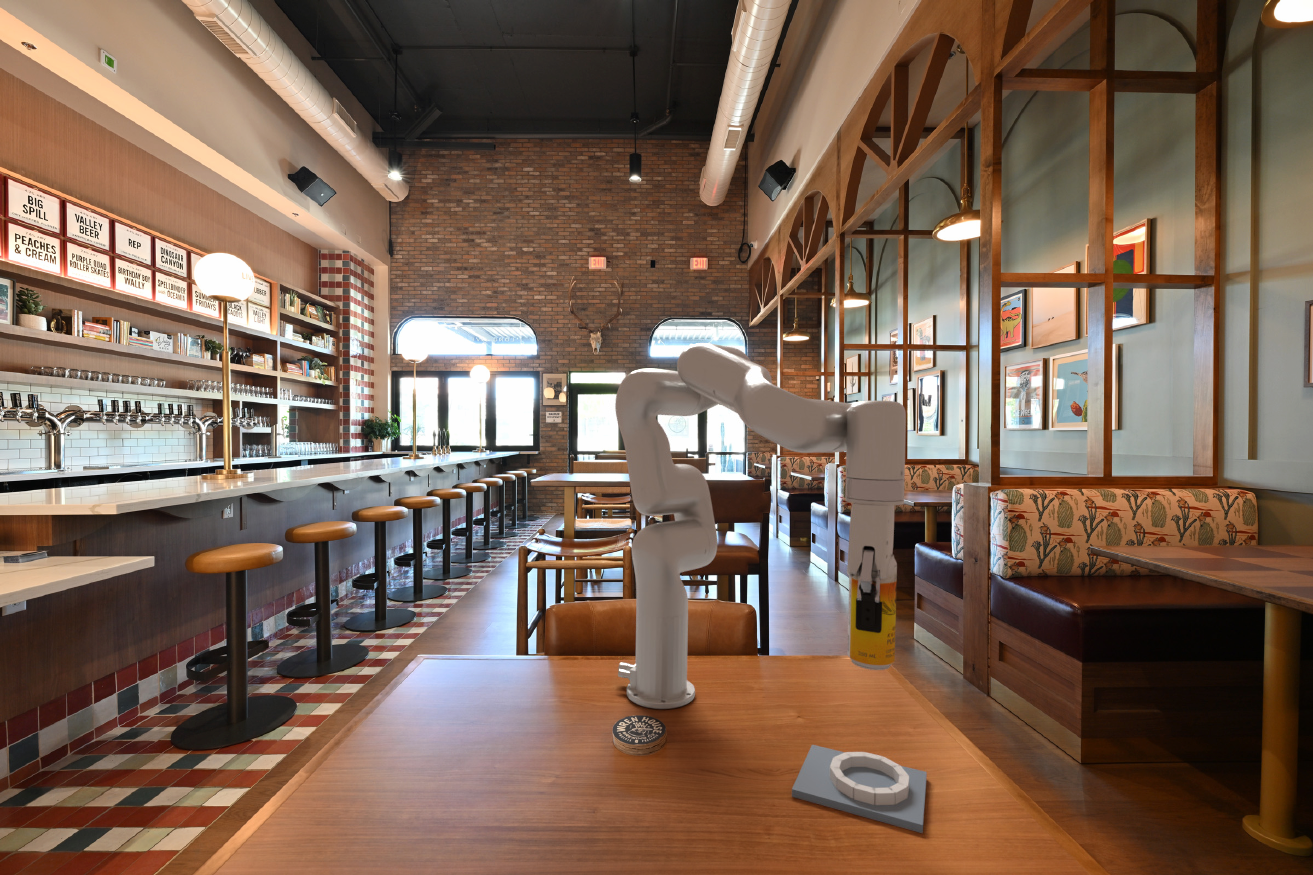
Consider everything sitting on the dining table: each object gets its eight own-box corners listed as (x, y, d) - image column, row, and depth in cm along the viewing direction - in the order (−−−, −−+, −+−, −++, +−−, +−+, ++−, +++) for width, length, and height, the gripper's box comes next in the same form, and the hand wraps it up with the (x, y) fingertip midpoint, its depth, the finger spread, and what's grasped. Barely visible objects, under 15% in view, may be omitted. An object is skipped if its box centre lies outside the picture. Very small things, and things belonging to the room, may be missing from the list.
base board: (791, 796, 81) (792, 777, 81) (812, 750, 92) (812, 734, 92) (922, 833, 74) (922, 812, 74) (926, 778, 85) (926, 761, 85)
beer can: (898, 673, 79) (901, 559, 79) (849, 669, 80) (852, 556, 80) (890, 656, 85) (892, 550, 85) (845, 652, 86) (847, 547, 86)
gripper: (854, 485, 92) (852, 603, 92) (835, 495, 76) (832, 637, 76) (908, 488, 88) (905, 611, 88) (899, 499, 73) (895, 648, 73)
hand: (871, 622), depth 82 cm, fingers closed on beer can, 6 cm apart
